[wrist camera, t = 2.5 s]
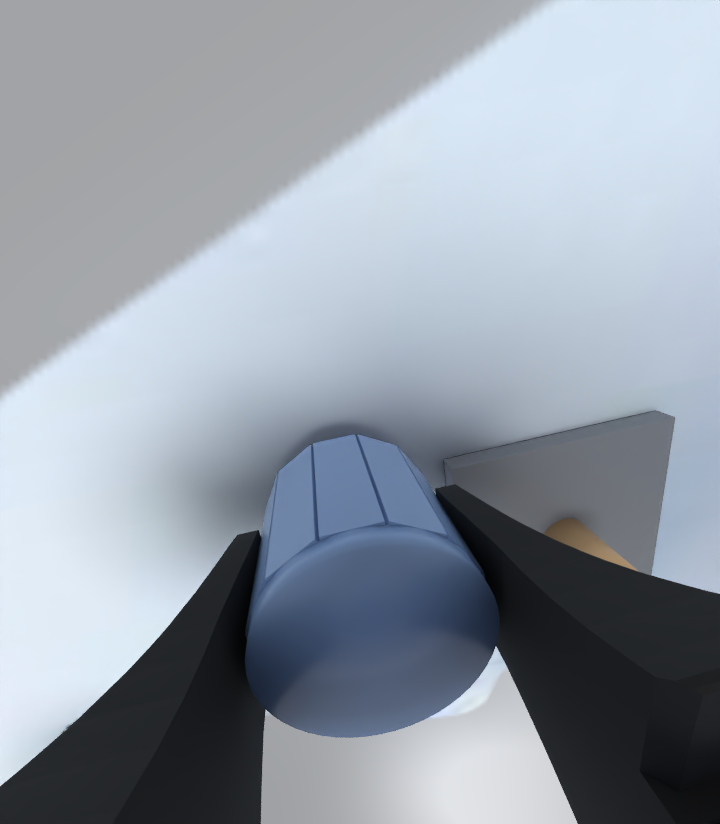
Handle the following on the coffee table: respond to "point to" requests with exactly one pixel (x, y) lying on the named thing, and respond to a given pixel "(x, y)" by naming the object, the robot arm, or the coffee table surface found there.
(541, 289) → the coffee table surface
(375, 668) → the cap
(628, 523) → the plate
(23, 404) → the coffee table surface
